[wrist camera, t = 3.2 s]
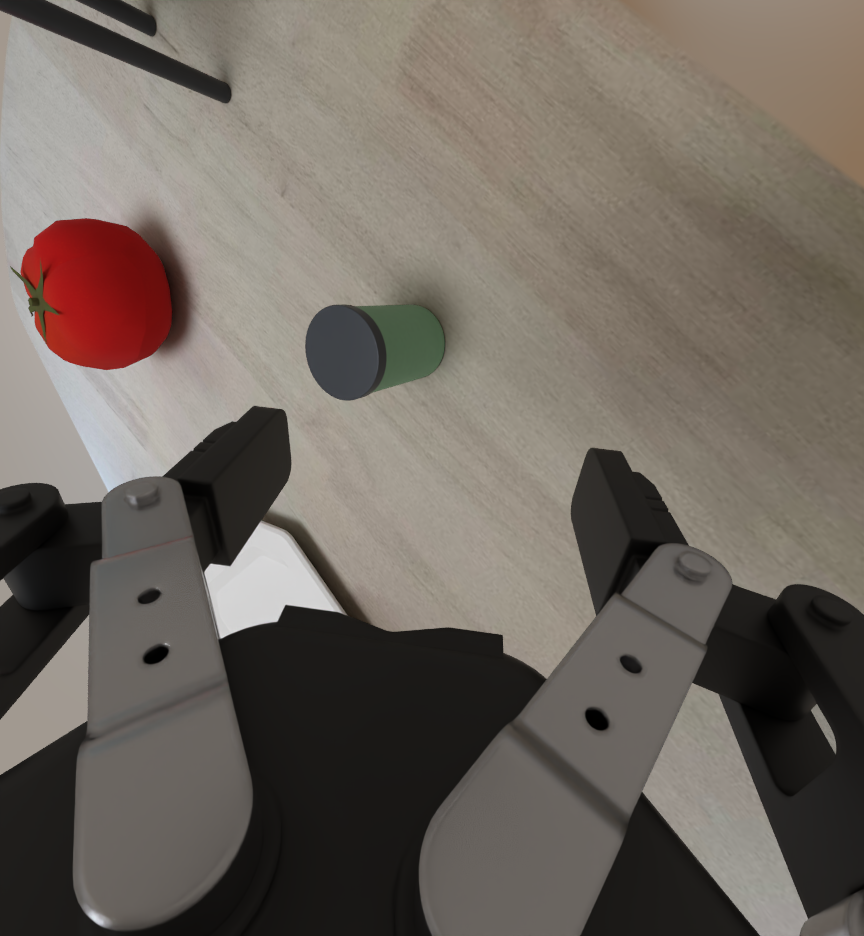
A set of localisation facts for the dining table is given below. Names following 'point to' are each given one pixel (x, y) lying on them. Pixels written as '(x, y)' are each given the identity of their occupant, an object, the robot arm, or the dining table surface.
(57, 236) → the tomato
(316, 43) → the dining table surface
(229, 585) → the plate
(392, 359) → the plastic tub
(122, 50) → the tray
